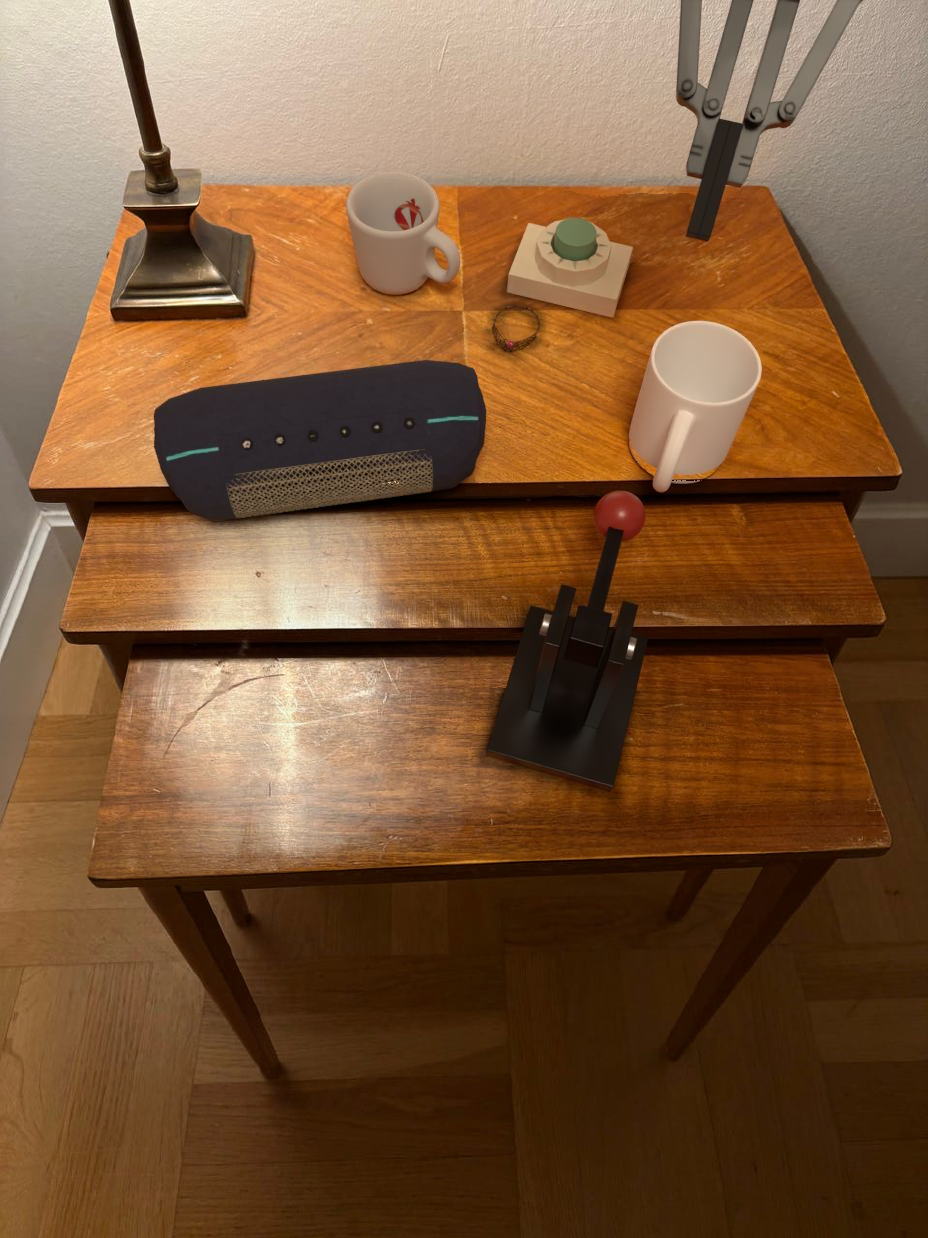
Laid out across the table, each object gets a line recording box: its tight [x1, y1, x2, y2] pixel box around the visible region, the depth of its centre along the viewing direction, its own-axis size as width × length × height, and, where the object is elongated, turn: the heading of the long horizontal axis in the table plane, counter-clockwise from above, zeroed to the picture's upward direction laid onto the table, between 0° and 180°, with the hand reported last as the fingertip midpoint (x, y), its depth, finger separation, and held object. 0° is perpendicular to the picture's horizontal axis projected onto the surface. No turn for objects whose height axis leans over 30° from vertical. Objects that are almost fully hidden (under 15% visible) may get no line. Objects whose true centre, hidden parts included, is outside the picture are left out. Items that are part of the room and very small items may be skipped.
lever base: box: [485, 583, 649, 793], centre depth 66 cm, size 12×9×12 cm
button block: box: [506, 219, 634, 319], centre depth 89 cm, size 10×7×4 cm
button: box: [554, 217, 597, 262], centre depth 87 cm, size 4×4×2 cm
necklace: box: [491, 304, 541, 354], centre depth 87 cm, size 4×6×1 cm, turn 166°
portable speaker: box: [153, 359, 487, 522], centre depth 75 cm, size 25×10×10 cm, turn 101°
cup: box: [345, 171, 461, 296], centre depth 86 cm, size 11×8×8 cm
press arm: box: [564, 490, 646, 668], centre depth 65 cm, size 14×4×4 cm, turn 163°
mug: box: [628, 320, 763, 493], centre depth 76 cm, size 12×8×10 cm
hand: (697, 236), depth 62 cm, fingers closed
